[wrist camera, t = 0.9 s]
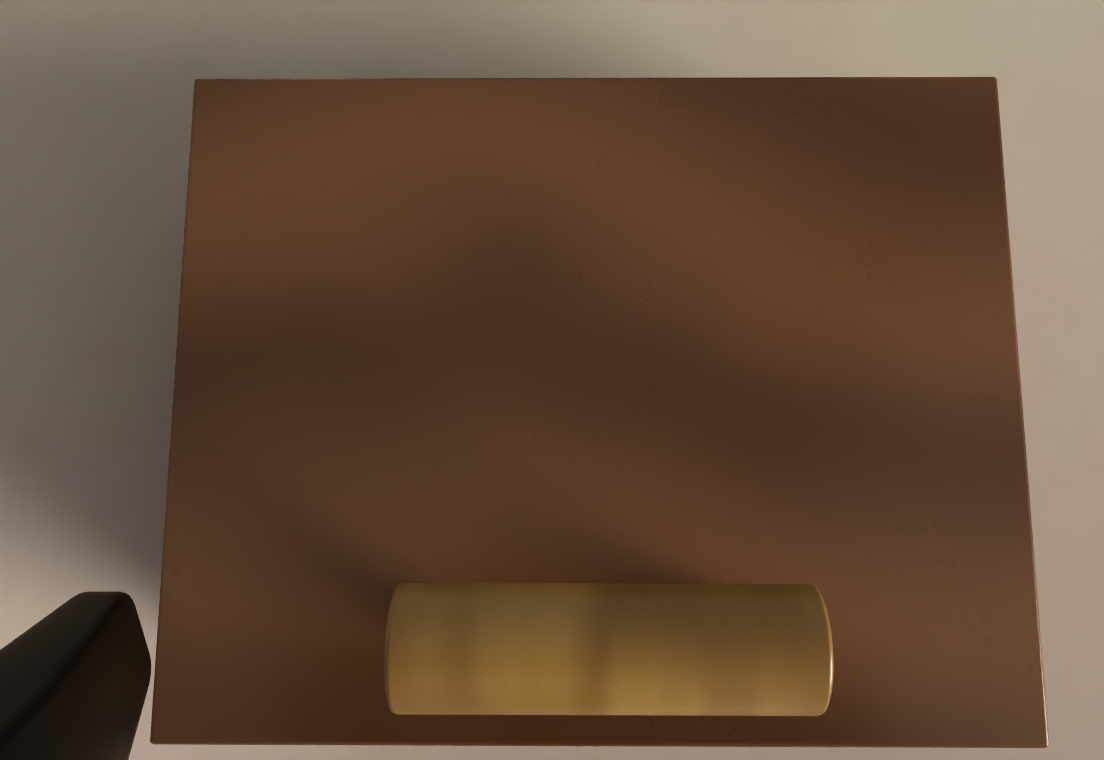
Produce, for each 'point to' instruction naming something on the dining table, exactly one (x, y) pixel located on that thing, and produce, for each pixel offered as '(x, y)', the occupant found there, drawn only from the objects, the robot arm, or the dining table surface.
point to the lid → (598, 418)
